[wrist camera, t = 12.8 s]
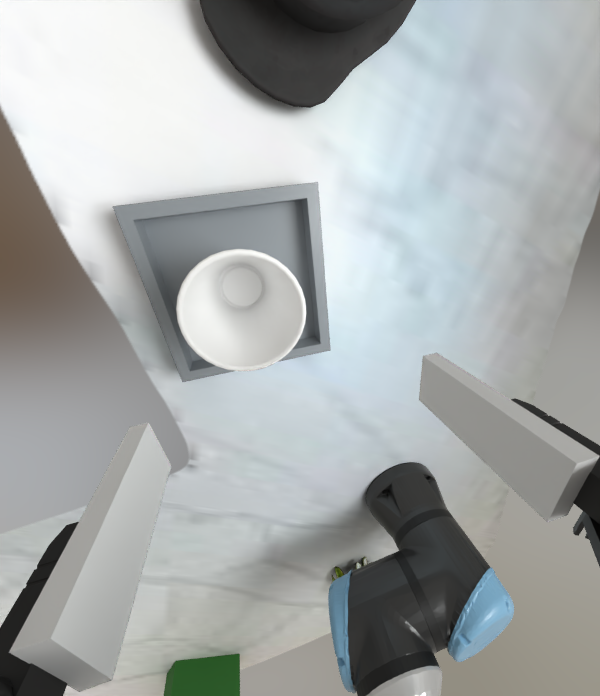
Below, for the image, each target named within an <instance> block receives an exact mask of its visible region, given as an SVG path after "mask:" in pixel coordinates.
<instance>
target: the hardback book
mask: <svg viewBox="0 0 600 696" xmlns="http://www.w3.org/2000/svg"><path fill="white" fill-rule="evenodd" d="M164 696H240V660H239V654H233V655H224V656H215V657H207V658H198V659H189V660H180V661H175V663H174V664H173V666H172V667H171V669H170V670H169V672H168V673H167V677H166V684H165V690H164Z"/></svg>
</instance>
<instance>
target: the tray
mask: <svg viewBox="0 0 600 696" xmlns="http://www.w3.org/2000/svg"><path fill="white" fill-rule="evenodd" d="M113 209H114V211H115V214H116V216H117V219H118V221H119V224H120V226H121V229H122V231H123V234H124V236H125V239H126V241H127V244H128V246H129V249H130V251H131V254H132V256H133V259H134V261H135V264H136V266H137V269H138V272H139V274H140V277H141V279H142V282H143V284H144V287H145V289H146V292H147V294H148V297H149V299H150V302H151V304H152V307H153V309H154V312H155V314H156V317H157V319H158V322H159V324H160V327H161V329H162V332H163V334H164V337H165V339H166V342H167V344H168V347H169V349H170V352H171V354H172V357H173V359H174V362H175V364H176V367H177V369H178V372H179V374H180V377H181V379H182V382H186V381H191V380H195V379H200V378H204V377H209V376H214V375H218V374H223V373H228V372H232V371H234V370H227V369H224V368H221V367H218V366H215V365H213V364H211V363H209V362H207V361H206V360H204V359H203V358H202V357H200V356H199V355H198V354H197V353H196V352H195V351H194V350H193V349H192V348H191V347H190V346H189V345H188V343H187V342H186V340H185V338H184V336H183V335H182V333H181V330H180V327H179V324H178V320H177V311H176V306H177V297H178V294H179V291H180V288H181V285H182V283H183V281H184V280H185V278H186V276H187V275H188V273H189V272H190V271H191V270H192V269H193V268H194V267H195V266H196V265H197V264H198V263H199V262H201V261H202V260H204V259H206V258H207V257H209V256H210V255H213V254H216V253H219V252H221V251H225V250H233V249H247V250H254V251H258V252H261V253H265V254H267V255H269V256H271V257H273V258H275V259H277V260H278V261H279V262H281V263H282V264H283V265H284V266H286V267H287V268H288V269H289V270H290V272H291V273H292V274H293V275H294V276H295V278H296V279H297V281H298V283H299V285H300V287H301V288H302V291H303V295H304V298H305V303H306V320H305V325H304V328H303V332H302V334H301V336H300V338H299V340H298V342H297V344H296V345H295V346H294V347H293V349H292V350H291V351H290V352H289V353H288V354H287V355H286V356H285V357H283V358H282V359H281V360H279V361H283V360H288V359H293V358H297V357H302V356H306V355H311V354H316V353H320V352H325V351H330V337H329V323H328V310H327V297H326V283H325V270H324V256H323V243H322V230H321V216H320V203H319V190H318V182H314V183H305V184H297V185H289V186H280V187H272V188H263V189H255V190H247V191H238V192H230V193H221V194H213V195H205V196H196V197H188V198H179V199H171V200H162V201H154V202H146V203H137V204H129V205H120V206H113ZM279 361H278V362H279Z"/></svg>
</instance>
